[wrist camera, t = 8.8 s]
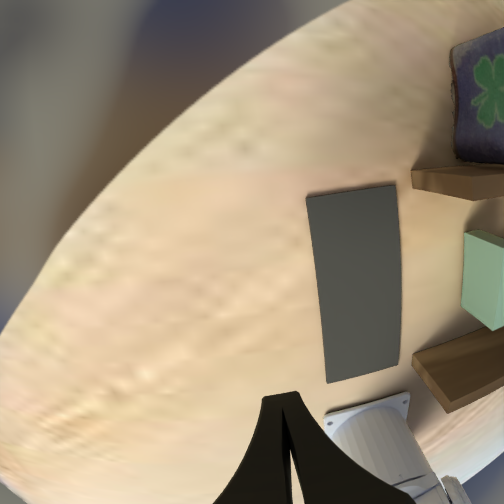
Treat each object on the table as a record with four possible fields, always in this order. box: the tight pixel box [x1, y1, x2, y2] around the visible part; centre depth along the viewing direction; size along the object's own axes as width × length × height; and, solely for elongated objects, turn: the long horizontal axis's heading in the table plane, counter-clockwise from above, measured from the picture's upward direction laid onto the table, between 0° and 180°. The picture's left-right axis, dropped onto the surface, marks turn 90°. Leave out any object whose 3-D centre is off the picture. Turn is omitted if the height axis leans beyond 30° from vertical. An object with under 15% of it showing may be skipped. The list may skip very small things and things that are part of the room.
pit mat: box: [305, 185, 401, 384], centre depth 20 cm, size 14×6×1 cm, turn 10°
